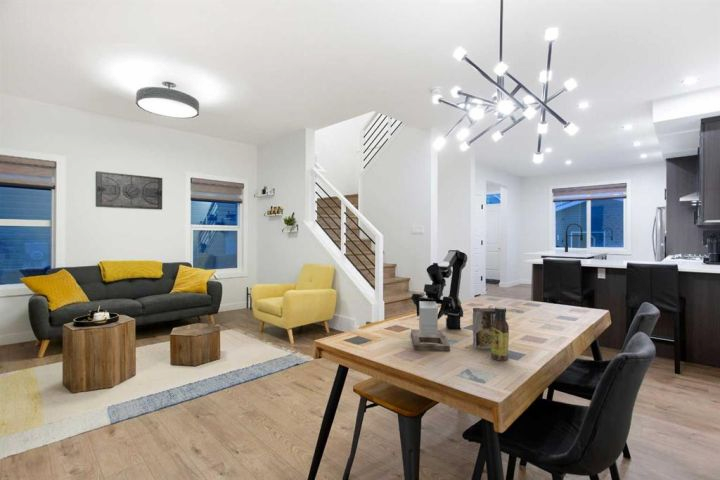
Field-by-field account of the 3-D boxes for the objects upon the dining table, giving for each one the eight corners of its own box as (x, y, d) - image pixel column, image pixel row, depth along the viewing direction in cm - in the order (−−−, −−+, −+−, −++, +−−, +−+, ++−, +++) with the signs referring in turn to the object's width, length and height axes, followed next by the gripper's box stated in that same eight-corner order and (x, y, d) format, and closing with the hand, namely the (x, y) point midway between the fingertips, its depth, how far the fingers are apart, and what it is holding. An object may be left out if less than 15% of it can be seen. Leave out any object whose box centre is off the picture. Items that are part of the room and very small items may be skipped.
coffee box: (493, 344, 155) (494, 307, 155) (498, 349, 149) (498, 311, 149) (472, 344, 156) (472, 307, 156) (475, 348, 150) (475, 310, 149)
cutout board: (441, 334, 171) (441, 330, 171) (449, 351, 147) (449, 346, 147) (411, 333, 172) (411, 329, 172) (414, 350, 148) (414, 345, 148)
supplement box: (435, 327, 158) (436, 301, 156) (437, 335, 151) (438, 308, 148) (418, 327, 159) (419, 300, 156) (419, 335, 152) (420, 307, 149)
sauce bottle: (488, 355, 141) (488, 305, 141) (503, 355, 142) (503, 305, 141) (495, 361, 135) (496, 309, 134) (511, 361, 136) (512, 308, 135)
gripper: (412, 275, 163) (401, 304, 154) (453, 278, 152) (443, 309, 144) (419, 290, 170) (409, 318, 161) (458, 294, 159) (450, 324, 150)
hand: (427, 317), depth 154 cm, fingers closed on supplement box, 9 cm apart
